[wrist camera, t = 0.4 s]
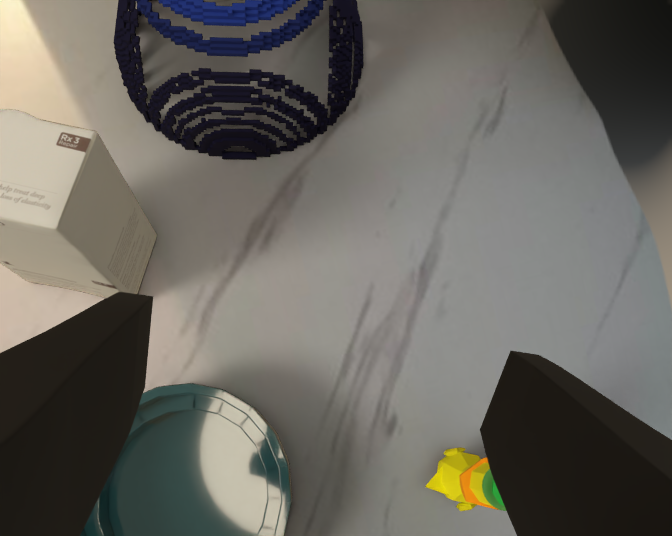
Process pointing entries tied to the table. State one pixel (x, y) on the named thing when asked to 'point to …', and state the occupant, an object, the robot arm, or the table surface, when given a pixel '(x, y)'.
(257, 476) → the glazed bowl
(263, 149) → the decorative bowl
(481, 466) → the toy figure
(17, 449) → the robot arm
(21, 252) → the cosmetic box
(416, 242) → the table surface
